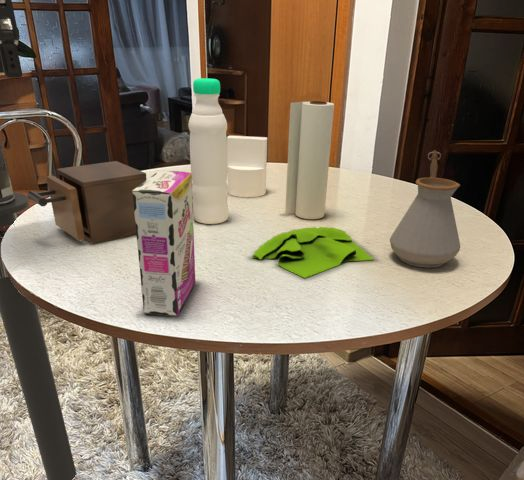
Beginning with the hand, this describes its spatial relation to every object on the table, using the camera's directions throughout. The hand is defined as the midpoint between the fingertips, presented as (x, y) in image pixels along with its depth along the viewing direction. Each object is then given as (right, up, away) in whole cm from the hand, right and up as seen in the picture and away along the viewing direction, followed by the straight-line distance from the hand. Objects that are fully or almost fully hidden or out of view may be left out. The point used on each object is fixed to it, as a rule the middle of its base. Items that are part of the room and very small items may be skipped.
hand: (9, 74), depth 74 cm
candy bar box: (+24, -32, -1) cm, 40 cm away
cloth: (+45, -23, +15) cm, 52 cm away
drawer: (+4, -18, +20) cm, 27 cm away
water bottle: (+26, -14, +29) cm, 41 cm away
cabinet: (+8, -17, +23) cm, 29 cm away
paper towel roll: (+46, -12, +33) cm, 58 cm away
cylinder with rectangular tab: (+33, -3, +47) cm, 57 cm away
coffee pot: (+65, -22, +18) cm, 71 cm away
